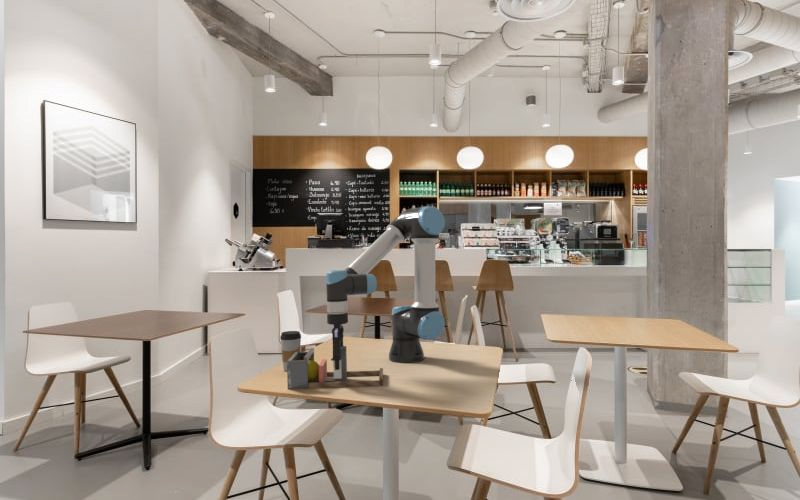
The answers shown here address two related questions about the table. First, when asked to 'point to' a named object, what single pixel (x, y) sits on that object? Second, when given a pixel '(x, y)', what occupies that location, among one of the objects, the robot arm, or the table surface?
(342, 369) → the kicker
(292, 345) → the coffee cup
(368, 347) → the table surface
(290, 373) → the grey open bin
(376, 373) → the lane rails
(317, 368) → the lemon
